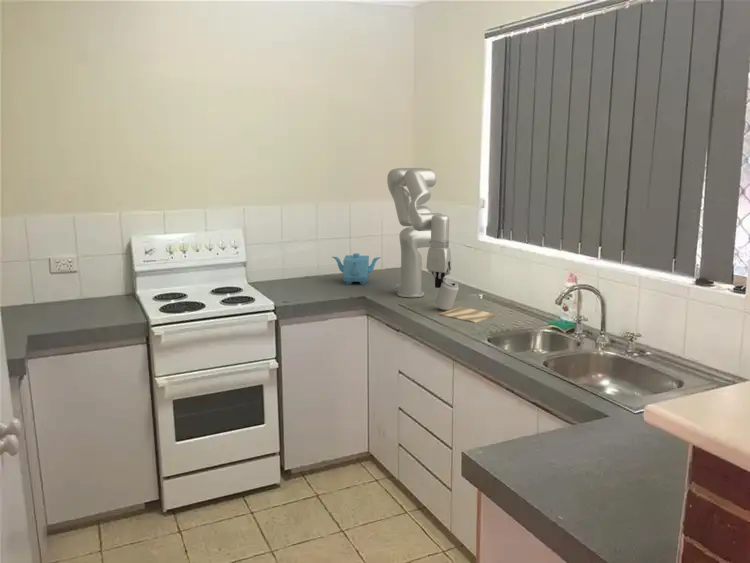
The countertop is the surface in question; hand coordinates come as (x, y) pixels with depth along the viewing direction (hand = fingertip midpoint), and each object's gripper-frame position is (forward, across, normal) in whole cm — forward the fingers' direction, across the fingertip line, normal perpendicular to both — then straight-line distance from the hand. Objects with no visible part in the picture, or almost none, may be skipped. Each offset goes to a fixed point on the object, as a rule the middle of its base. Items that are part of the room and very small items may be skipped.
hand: (438, 287), depth 286 cm
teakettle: (+9, -62, +14) cm, 64 cm away
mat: (+10, +15, 0) cm, 18 cm away
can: (+9, +2, 0) cm, 9 cm away
